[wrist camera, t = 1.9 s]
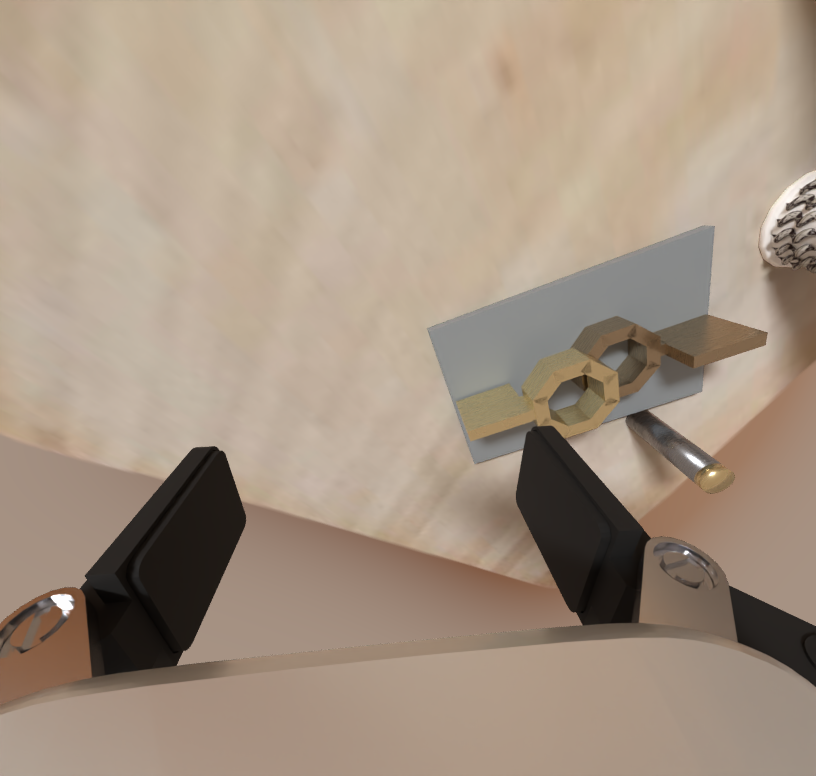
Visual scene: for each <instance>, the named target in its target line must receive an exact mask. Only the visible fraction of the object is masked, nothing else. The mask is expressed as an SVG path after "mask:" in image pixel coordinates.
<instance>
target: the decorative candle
mask: <svg viewBox="0 0 816 776" xmlns="http://www.w3.org/2000/svg"><path fill="white" fill-rule="evenodd" d="M759 249H760V251H761V254H762V257H763V259H764V260H765V261H767V262H768V263H770V264H771V265H773V266H775V267H792V268H791V269H792V270H798V269H799V268H801V267H806V270H808V271H809V270H810V272H812V273H816V170H814V171H812V172H809V173H806V174H805V175H803V176H802V177H801V178H799V179H798V180H797V181H796V182H794V183H793V184H792V185H790V186H789V187H788V188H786V189H785V191H784V192H783V193H782V194H781V195H780V197H779V198H778V199H777V200H776V202H775V203H774V204H773V205H772V206H771V208H770V210H769V212H768V214H767V216H766V218H765V220H764V222H763V224H762V226H761V230H760V238H759Z"/></svg>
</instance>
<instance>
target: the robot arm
mask: <svg viewBox="0 0 816 776" xmlns="http://www.w3.org/2000/svg"><path fill="white" fill-rule="evenodd" d="M516 502H517V505H518V507H519V509H520V511H521V513H522V515H523V517H524V520H525V522H526V524H527V526H528V528H529V530H530V532H531V534H532V536H533V538H534V540H535V542H536V544H537V546H538V548H539V550H540V552H541V554H542V556H543V558H544V560H545V562H546V564H547V566H548V568H549V570H550V572H551V574H552V576H553V578H554V580H555V582H556V584H557V586H558V588H559V590H560V592H561V594H562V596H563V598H564V600H565V602H566V604H567V606H568V608H569V609H570V610H571V611H572V612H576V613H577V615H578V617H579V618H580V620H581V623H582V624H583V625H582V626H570V627H556V628H543V629H533V630H522V631H511V632H501V633H490V634H479V635H469V636H458V637H448V638H437V639H427V640H418V641H408V642H397V643H387V644H378V645H367V646H358V647H348V648H338V649H328V650H318V651H309V652H299V653H291V654H281V655H271V656H262V657H252V658H243V659H233V660H224V661H214V662H205V663H196V664H188V665H181V666H177V663H178V661H179V659H180V657H181V655H182V653H183V651H186V650H187V649H188V648H189V647H190V646H191V644H192V643H193V641H194V638H195V636H196V634H197V632H198V630H199V627H200V625H201V623H202V621H203V618H204V616H205V614H206V612H207V610H208V607H209V605H210V603H211V601H212V598H213V596H214V594H215V592H216V589H217V587H218V585H219V583H220V580H221V578H222V576H223V574H224V572H225V570H226V567H227V565H228V563H229V560H230V558H231V556H232V554H233V552H234V550H235V547H236V545H237V543H238V541H239V538H240V536H241V534H242V532H243V529H244V527H245V524H246V515H245V511H244V509H243V506H242V503H241V500H240V497H239V494H238V491H237V488H236V485H235V482H234V479H233V476H232V473H231V470H230V467H229V464H228V461H227V458H226V455H225V453H224V452H223V451H219V449H218V448H217V447H215V446H212V447H196V448H193V449H192V450H191V451H190V452H189V453H188V454H187V456H186V457H185V458H184V459H183V460H182V461H181V463H180V464H179V465H178V466H177V467H176V469H175V470H174V471H173V472H172V473H171V474H170V476H169V477H168V478H167V479H166V480H165V482H164V483H163V484H162V485H161V486H160V487H159V489H158V490H157V491H156V492H155V493H154V495H153V496H152V497H151V498H150V499H149V501H148V502H147V503H146V504H145V505H144V506H143V508H142V509H141V510H140V511H139V512H138V514H137V515H136V516H135V517H134V518H133V519H132V521H131V522H130V523H129V524H128V525H127V526H126V528H125V529H124V530H123V531H122V532H121V534H120V535H119V536H118V537H117V538H116V539H115V541H114V542H113V543H112V544H111V545H110V547H109V548H108V549H107V550H106V551H105V552H104V554H103V555H102V556H101V557H100V558H99V560H98V561H97V562H96V563H95V564H94V565H93V567H92V568H91V569H90V570H89V571H88V573H87V574H86V575H85V577H86V579H87V581H86V582H85V583H84V584H83V586H82V587H81V588H80V589H78V588H76V587H64V588H60V589H57V590H52V591H49V592H47V593H45V594H43V595H40V596H38V597H36V598H34V599H32V600H31V601H29V602H28V603H26V604H24V605H22V606H21V607H19V608H18V609H17V610H16V611H14V612H13V613H12V614H10V615H9V616H7V617H6V618H5V619H4V620H3V621H2V622H1V623H0V776H816V626H814V625H812V624H810V623H808V622H805V621H803V620H801V619H799V618H797V617H795V616H793V615H791V614H788V613H786V612H784V611H782V610H780V609H778V608H776V607H774V606H771V605H769V604H767V603H765V602H763V601H761V600H759V599H757V598H755V597H752V596H750V595H748V594H746V593H744V592H742V591H739V590H738V589H735V588H733V587H731V586H729V584H728V581H727V578H726V575H725V573H724V572H723V570H722V569H721V568H720V567H719V565H718V564H717V563H716V562H715V561H714V560H713V559H712V558H710V557H709V556H708V555H707V554H706V553H704V552H703V551H701V550H700V549H698V548H697V547H695V546H693V545H691V544H689V543H687V542H685V541H682V540H678V539H675V538H671V537H662V536H661V537H655V538H652V539H651V538H650V537H649V536H648V535H647V533H646V532H645V531H644V529H643V528H642V527H641V526H640V524H639V523H638V522H637V521H636V520H635V519H634V518H633V516H632V515H631V514H630V513H629V512H628V511H627V510H626V508H625V507H624V506H623V505H622V504H621V503H620V502H619V500H618V499H617V498H616V497H615V496H614V495H613V494H612V492H611V491H610V490H609V489H608V488H607V487H606V486H605V484H604V483H603V482H602V481H601V480H600V479H599V478H598V476H597V475H596V474H595V473H594V472H593V471H592V470H591V468H590V467H589V466H588V465H587V464H586V463H585V462H584V460H583V459H582V458H581V457H580V456H579V455H578V454H577V452H576V451H575V450H574V449H573V448H572V447H571V446H570V444H569V443H568V442H567V441H566V440H565V439H564V438H563V436H562V435H561V434H560V433H559V432H558V431H557V430H556V428H555V427H553V426H551V425H549V426H534V427H533V428H532V429H531V431H528V432H527V433H526V437H525V443H524V449H523V455H522V461H521V467H520V473H519V479H518V485H517V491H516Z"/></svg>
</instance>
